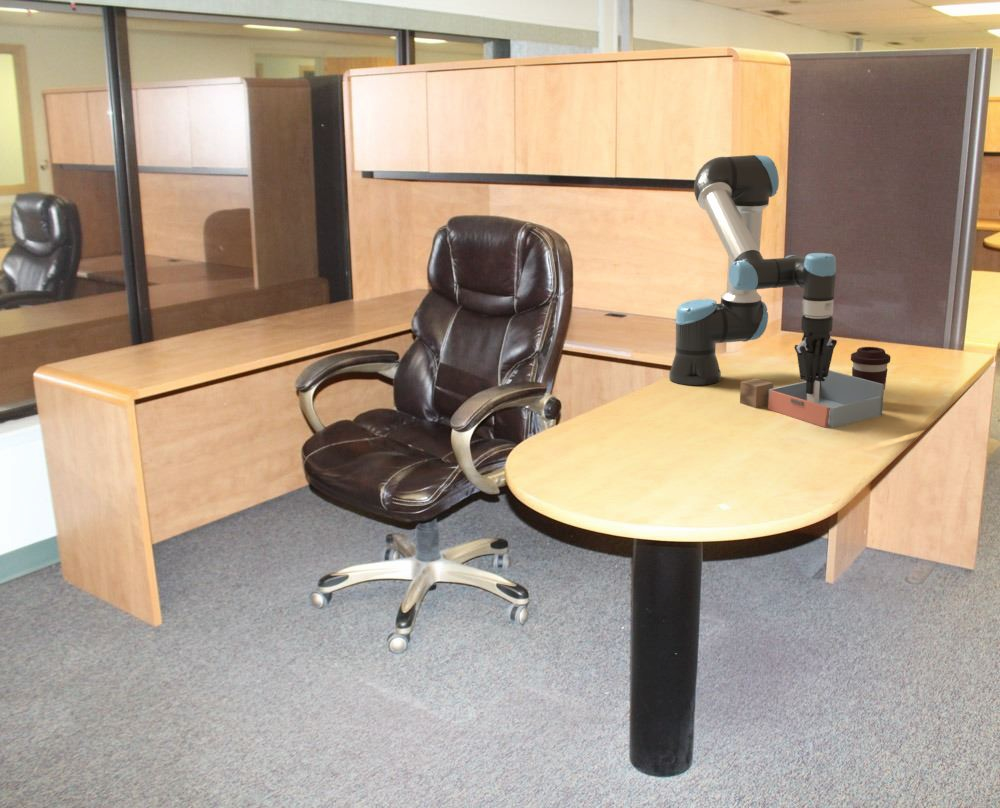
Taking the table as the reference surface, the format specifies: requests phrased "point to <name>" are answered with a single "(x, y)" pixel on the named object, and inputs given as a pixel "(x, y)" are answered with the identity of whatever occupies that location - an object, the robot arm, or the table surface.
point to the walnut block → (755, 392)
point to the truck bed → (843, 397)
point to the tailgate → (799, 408)
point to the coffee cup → (870, 364)
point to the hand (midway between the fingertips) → (812, 405)
